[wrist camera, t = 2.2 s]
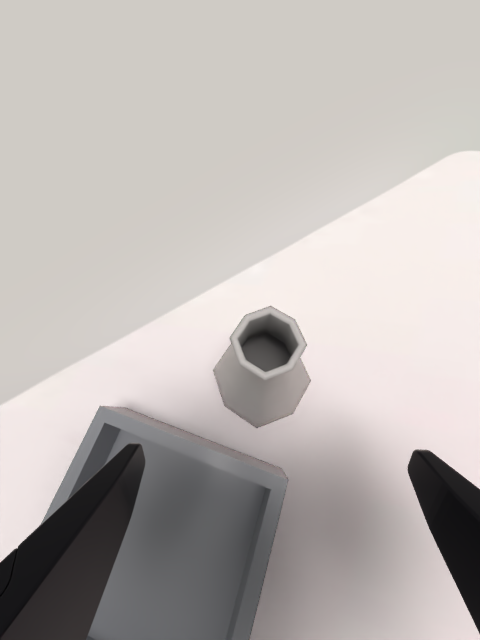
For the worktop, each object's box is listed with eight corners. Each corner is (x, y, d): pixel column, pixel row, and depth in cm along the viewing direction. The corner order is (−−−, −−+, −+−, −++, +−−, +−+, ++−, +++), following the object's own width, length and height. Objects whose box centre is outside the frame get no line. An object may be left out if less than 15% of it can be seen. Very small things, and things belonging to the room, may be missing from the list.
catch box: (219, 715, 14) (209, 802, 11) (30, 609, 16) (-26, 657, 13) (282, 468, 18) (288, 479, 15) (124, 407, 20) (99, 405, 17)
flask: (326, 383, 20) (389, 352, 11) (255, 446, 19) (257, 474, 10) (266, 316, 23) (275, 243, 13) (198, 369, 21) (154, 330, 12)
